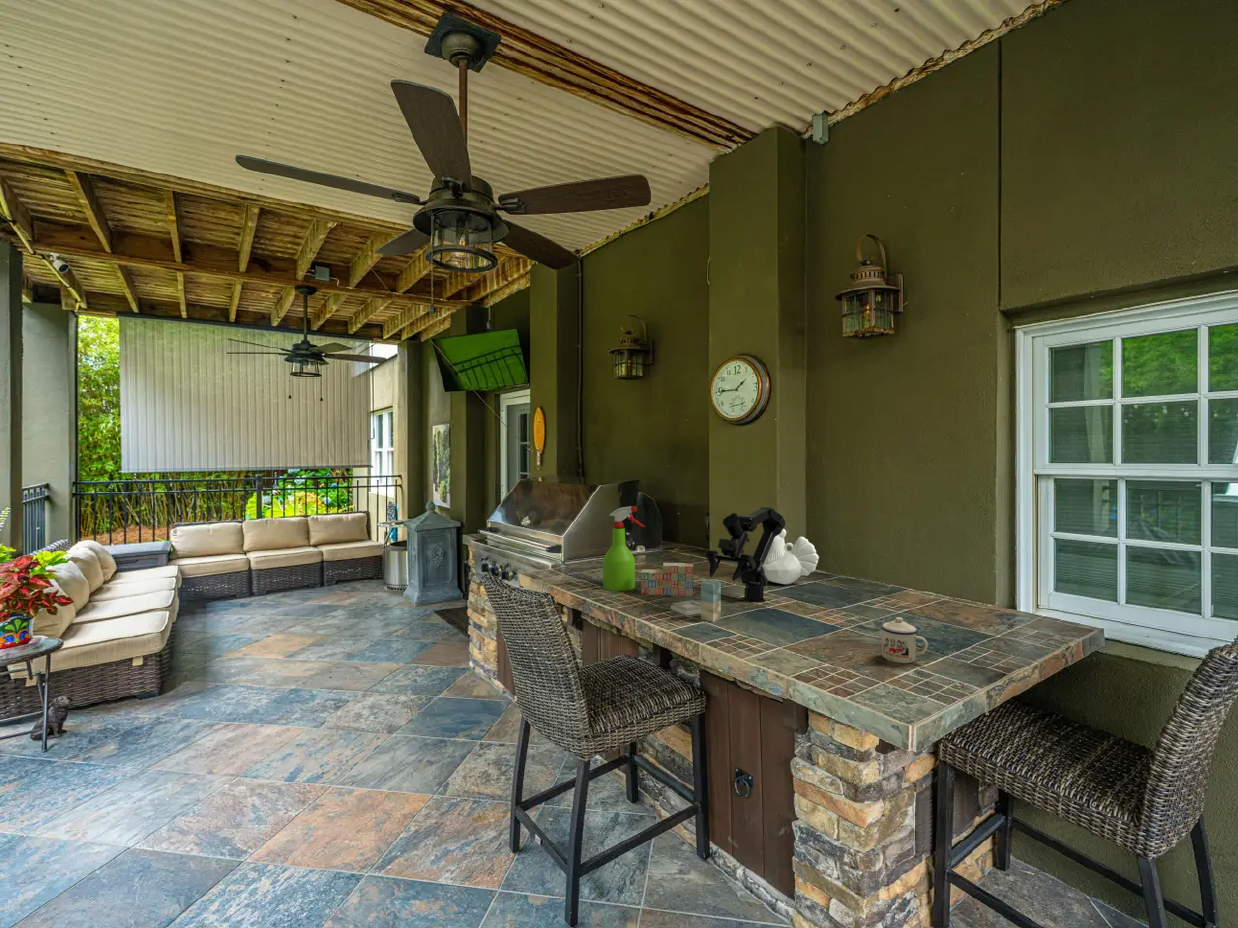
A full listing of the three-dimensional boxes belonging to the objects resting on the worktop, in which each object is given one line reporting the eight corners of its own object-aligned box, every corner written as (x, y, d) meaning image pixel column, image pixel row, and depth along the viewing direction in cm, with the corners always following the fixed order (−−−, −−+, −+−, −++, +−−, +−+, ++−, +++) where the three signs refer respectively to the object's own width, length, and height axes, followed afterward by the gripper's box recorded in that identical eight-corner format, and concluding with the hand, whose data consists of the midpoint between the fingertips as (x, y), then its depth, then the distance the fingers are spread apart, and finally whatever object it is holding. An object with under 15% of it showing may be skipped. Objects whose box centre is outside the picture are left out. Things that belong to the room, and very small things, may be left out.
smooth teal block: (708, 616, 214) (708, 579, 214) (720, 618, 211) (720, 581, 211) (700, 619, 211) (701, 582, 210) (713, 621, 207) (713, 584, 207)
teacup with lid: (877, 659, 171) (878, 618, 171) (885, 650, 179) (886, 611, 178) (923, 668, 164) (924, 626, 164) (930, 659, 171) (931, 618, 171)
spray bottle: (641, 592, 249) (641, 508, 247) (599, 590, 253) (599, 507, 252) (647, 584, 262) (647, 504, 261) (607, 582, 266) (607, 503, 265)
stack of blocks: (640, 594, 245) (640, 564, 245) (641, 591, 251) (641, 561, 251) (693, 596, 243) (693, 566, 242) (693, 592, 249) (693, 563, 249)
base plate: (692, 605, 229) (692, 599, 229) (708, 611, 220) (708, 605, 220) (670, 608, 224) (670, 602, 224) (686, 615, 215) (686, 609, 215)
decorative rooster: (752, 582, 266) (753, 526, 266) (772, 576, 277) (772, 523, 277) (804, 592, 249) (805, 532, 248) (822, 586, 260) (823, 528, 259)
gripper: (707, 528, 226) (691, 561, 218) (752, 532, 214) (737, 568, 206) (717, 546, 232) (702, 579, 224) (762, 551, 220) (747, 587, 212)
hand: (721, 578), depth 216 cm, fingers open, 9 cm apart
